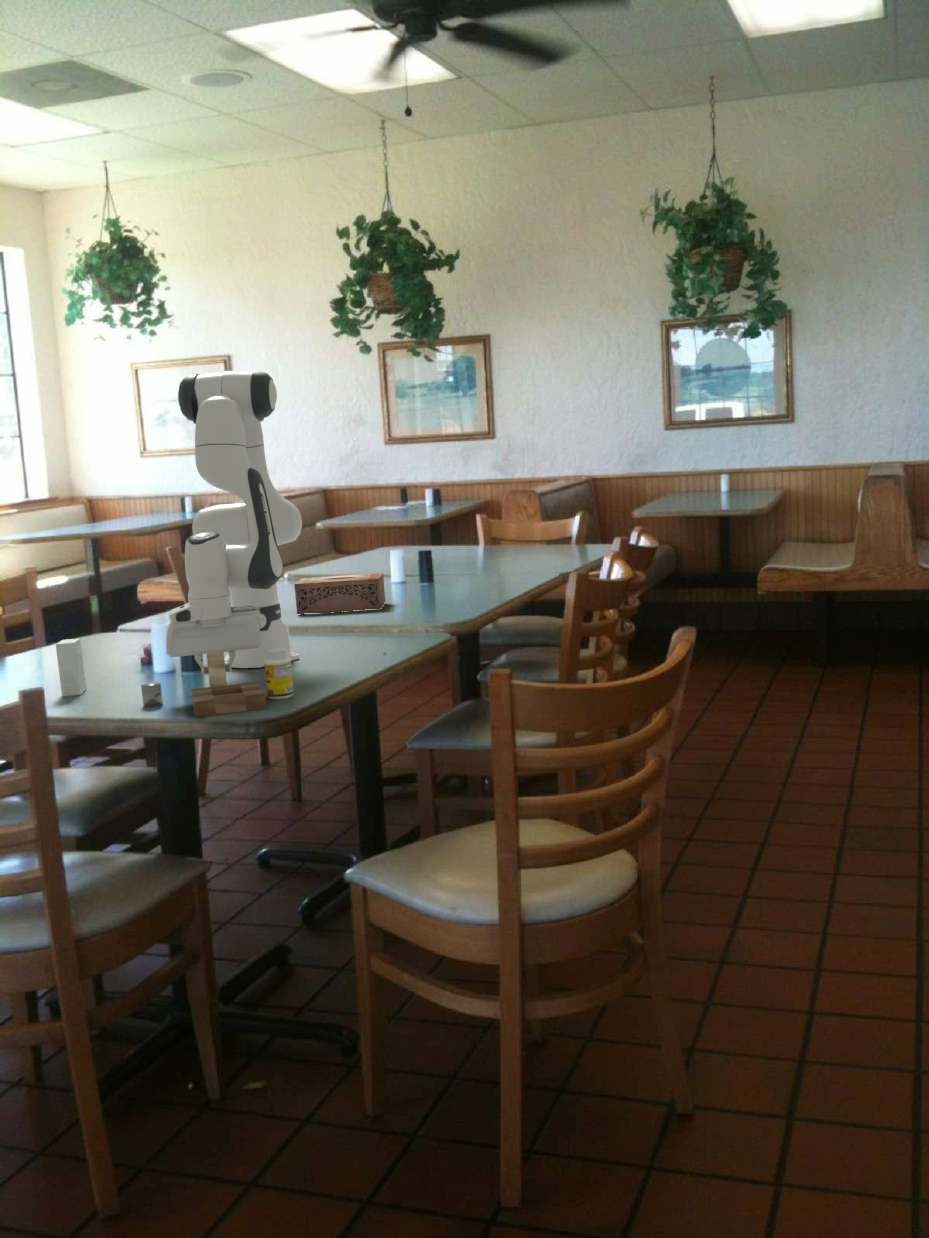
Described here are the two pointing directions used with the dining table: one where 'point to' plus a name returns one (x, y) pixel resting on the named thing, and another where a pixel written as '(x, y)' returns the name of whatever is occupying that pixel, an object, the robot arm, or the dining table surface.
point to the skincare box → (71, 667)
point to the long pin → (216, 668)
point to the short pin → (152, 694)
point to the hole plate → (228, 699)
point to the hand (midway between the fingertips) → (216, 672)
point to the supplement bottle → (278, 674)
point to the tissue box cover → (340, 593)
